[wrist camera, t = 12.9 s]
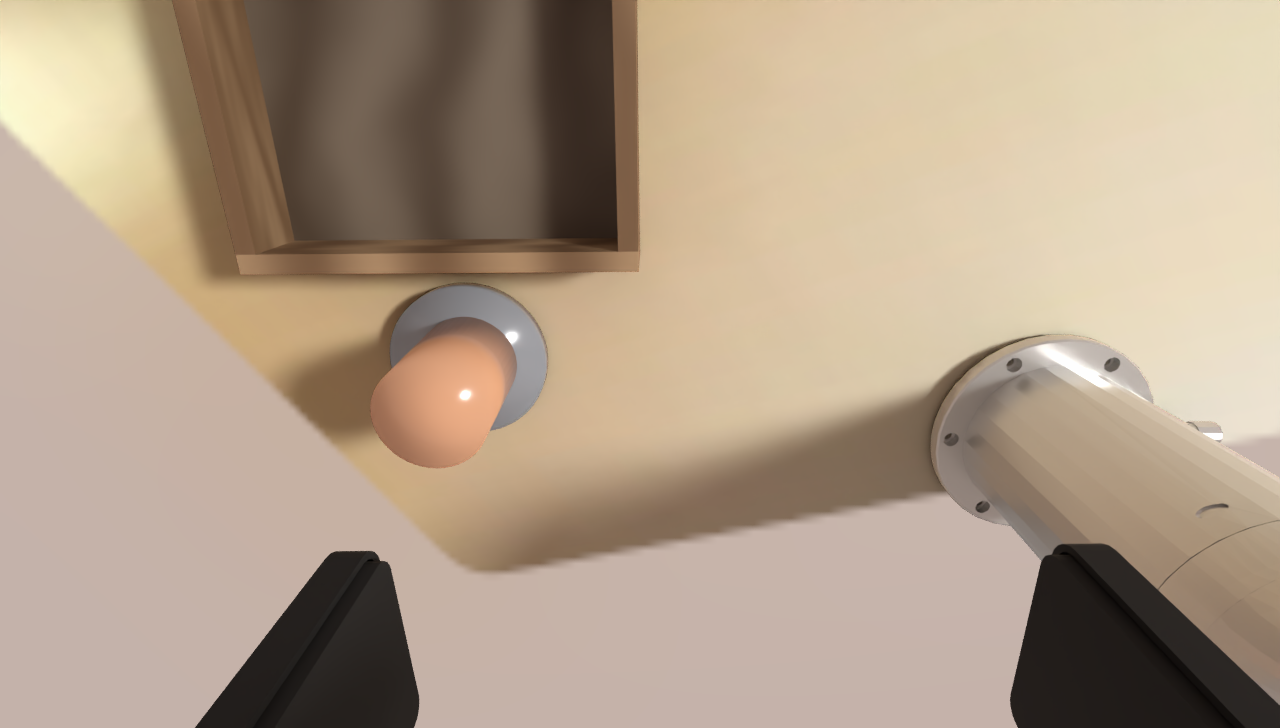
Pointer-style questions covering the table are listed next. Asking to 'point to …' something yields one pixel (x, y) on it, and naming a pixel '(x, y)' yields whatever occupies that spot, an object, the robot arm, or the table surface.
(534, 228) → the wooden box
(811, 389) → the table surface
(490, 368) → the peach rounded knob
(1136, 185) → the table surface
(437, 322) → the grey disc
